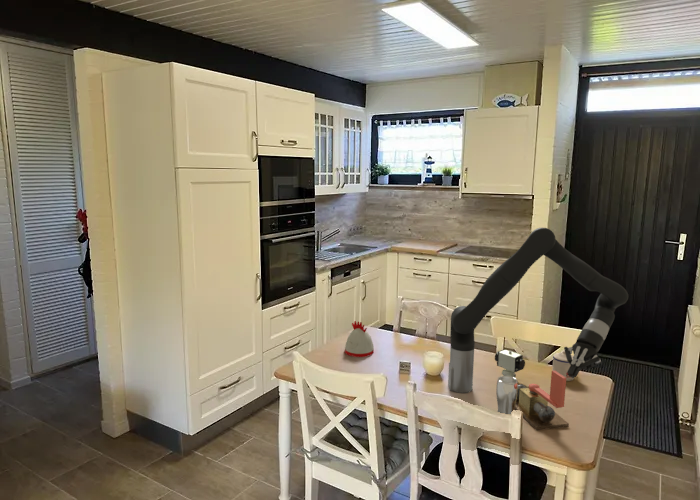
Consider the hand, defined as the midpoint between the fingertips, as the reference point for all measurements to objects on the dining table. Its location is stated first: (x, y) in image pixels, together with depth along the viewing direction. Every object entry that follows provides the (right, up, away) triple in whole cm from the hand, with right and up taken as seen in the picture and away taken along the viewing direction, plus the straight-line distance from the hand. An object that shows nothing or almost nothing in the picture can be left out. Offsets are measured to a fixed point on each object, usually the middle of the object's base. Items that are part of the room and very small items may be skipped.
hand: (570, 376), depth 162 cm
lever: (-7, -9, +3) cm, 12 cm away
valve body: (-9, -16, +12) cm, 22 cm away
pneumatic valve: (-7, -12, +41) cm, 44 cm away
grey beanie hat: (-70, -7, +70) cm, 99 cm away
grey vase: (-20, -17, +7) cm, 27 cm away
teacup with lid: (+17, -12, +43) cm, 48 cm away
